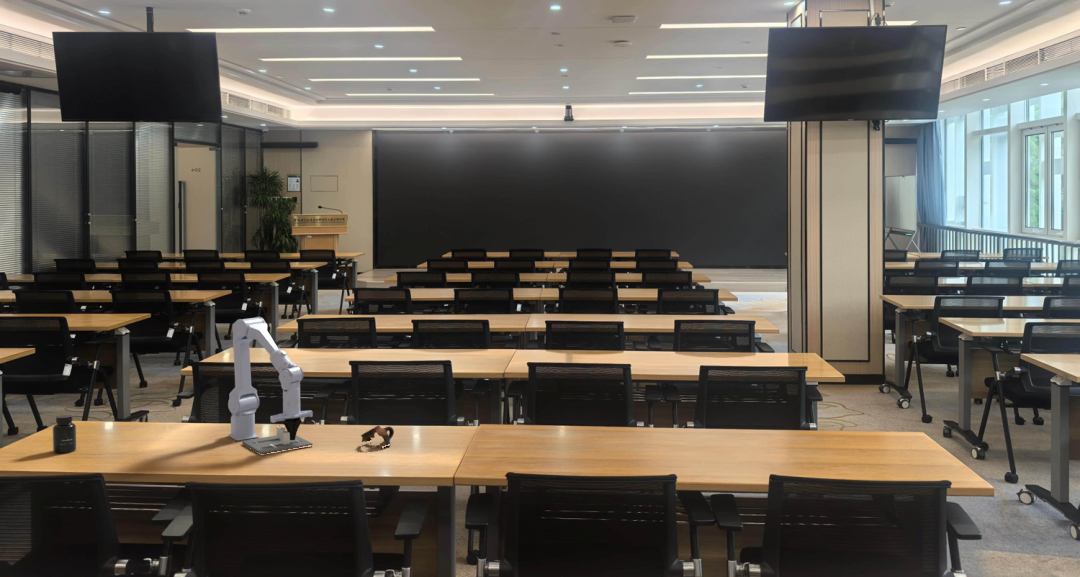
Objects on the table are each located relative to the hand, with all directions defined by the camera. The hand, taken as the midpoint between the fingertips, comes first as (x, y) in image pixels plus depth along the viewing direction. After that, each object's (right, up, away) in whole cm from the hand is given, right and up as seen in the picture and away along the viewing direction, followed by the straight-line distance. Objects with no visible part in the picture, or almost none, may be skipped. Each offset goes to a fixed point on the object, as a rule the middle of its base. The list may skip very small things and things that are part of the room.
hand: (292, 439), depth 286 cm
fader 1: (-6, -1, +6) cm, 8 cm away
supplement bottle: (-74, -3, -8) cm, 75 cm away
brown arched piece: (+30, -3, +3) cm, 30 cm away
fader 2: (-2, -1, -2) cm, 3 cm away
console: (-5, -2, +1) cm, 6 cm away
